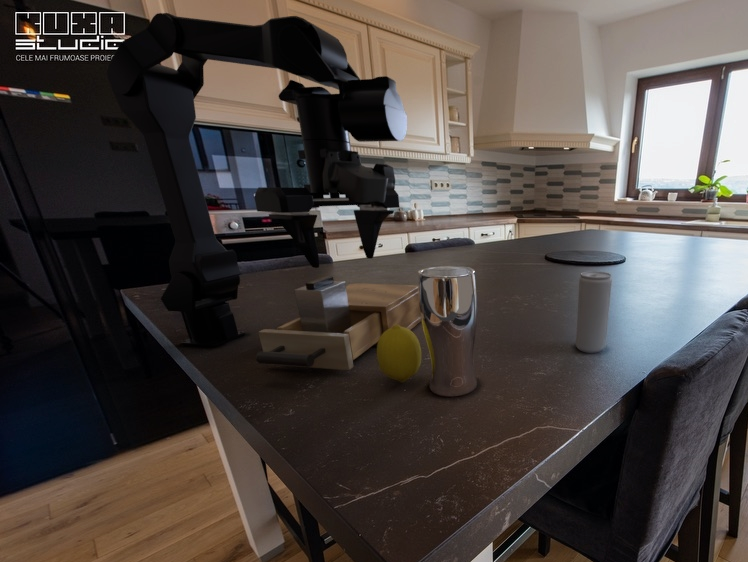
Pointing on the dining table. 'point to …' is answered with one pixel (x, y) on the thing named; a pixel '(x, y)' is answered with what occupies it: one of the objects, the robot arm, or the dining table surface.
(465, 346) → the beer glass
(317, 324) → the tall upright grey box
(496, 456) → the dining table surface
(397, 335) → the lemon
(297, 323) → the drawer
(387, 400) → the dining table surface
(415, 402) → the dining table surface
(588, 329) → the beverage can
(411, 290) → the cabinet
